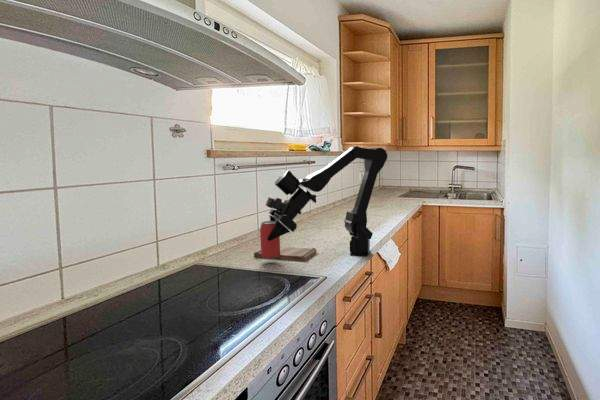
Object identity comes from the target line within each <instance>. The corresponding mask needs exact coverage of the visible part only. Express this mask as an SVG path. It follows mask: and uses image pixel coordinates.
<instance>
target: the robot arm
mask: <svg viewBox="0 0 600 400" xmlns="http://www.w3.org/2000/svg"><path fill="white" fill-rule="evenodd" d="M356 159H361V160H364V161H363V164H364V165H363V166H364V172H363V176H362V179H361V183H360V186H359V190H358V193H357V196H356V199H355V203H354V207H353V208H352V209H351V211H348V210H347V211H346V212H345V218H344V220H343V222H344V227H345V229H346V231H347V232H348V233H349V236H351V237H350V241H349V255H350V256H363V257H368V256H369V255H370V253H371V252H372V250H370V249H371V248H370V246H371V244H370V243H371V242H370V241H371V239H372V237H373V232H372V231H371V230H370V229H369V228H368V227H367V224H368V217H367V216H368V214H367V213H368V212H367V211H368V210H367V209H368V208H369V203H370V201H371V197H372V194H373V191H374V187H375V184H376V180H377V177H378V174H379V173H380V171H382V169H383V167H384V166H385V164H386V162H387V160H388V153H387V150H386V149H384V148H383V147H371V148H368V147H367V148H366V147H361V146H357V145H356V146H355V145H354V146H350V147H349V148H348V149H347V150H346V151H344V152H343V153H342V154H341V155H339V156H338V157H336V158H335V159H334V160H332V161H331V162H330V163H329V164H327V165H326V166H325V167H323V168H321V169H319V170H316V171H314V172H312V173H310V174H308V175H306V177H305V178H300V179H299V178H297V177H296V176H295V175H294V174H293V173H292V172H291V170H286V171H285V172H284V173H282V174H281V175H279V176H278V178H277V179H276V180H275V182H274V185H275V186H276V187H277V188H278V189H279V190H281V192H283V194H284V195H286V196H288V195H290V198H289V199H288V200H287V199H286V200H284V201H283V199H282V198H279V197H275V198H273V197H270V196H268V198H267V200H266V202H265V206H266V207H268V208H270V210H269V212H268V214H269V215H268V216H269V221H275V223H276V225H275V227H274V229H273V230H272V232H271V233H270V235H269V236H268V238H267V240H268V241H271V240H273V239H275V238H277V237H279V236H280V237H281V236H283V235H286V234H288V233H290V232H292V233H294V232H295V231H296V230H297V226H298V225H297V223H296V222H295V221H294V219H295V218H296V217H297V216H298V215H301V214H302V213H303V212H302V210H304V208H305V207H306V206H307V204H309V202H310V201H311V202H312V203H315V204H316V203H317V195H316V194H314V193H318V192H321V191H322V190H323V189H324V188H325V187H326V186H327V185H328V184H329V182H330V181H331V179H333V177H334V176H336V175H337V174H338V173H339V172H341V171H342V170H343V169H344V168H346V167H347V166H348V165H349V164H351V163H352V162H354V161H355V160H356ZM302 187H303V188H305V189H302ZM310 191H311V192H314V193H313V194H312V193H311V192H310Z"/></svg>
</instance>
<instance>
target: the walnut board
mask: <svg viewBox="0 0 600 400" xmlns="http://www.w3.org/2000/svg"><path fill="white" fill-rule="evenodd" d="M317 253H318V252H317V248H315V247H313V248H312V247H311V248H308V247H307V248H305V247H293V246H292V247H291V246H280V256H279V257H277V258H272V259H273V260H275V259H277V260H288V261H289V260H290V261H301V262H306V261H308V260H309V259H310V258H311V257H313V256H314V255H316V254H317ZM253 257H254V258H263V257H262V256H261V249H259V250H257V251H255V252H253ZM263 259H264V258H263Z"/></svg>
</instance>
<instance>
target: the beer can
mask: <svg viewBox="0 0 600 400" xmlns="http://www.w3.org/2000/svg"><path fill="white" fill-rule="evenodd" d="M275 225H276V223H275V221H270V220H266V221H262V222H261V225H260V227H259V233H260V235H259V236H260V250H261V256H262V257H263V259H273V258H277V257H279V256H280V247H281V239H280V237H281V236H279V237H277V238H275V239H273V240H271V241H268V240H267V238H268V236H269V235H270V233H271V232H272V230H273V229H274V227H275Z"/></svg>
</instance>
